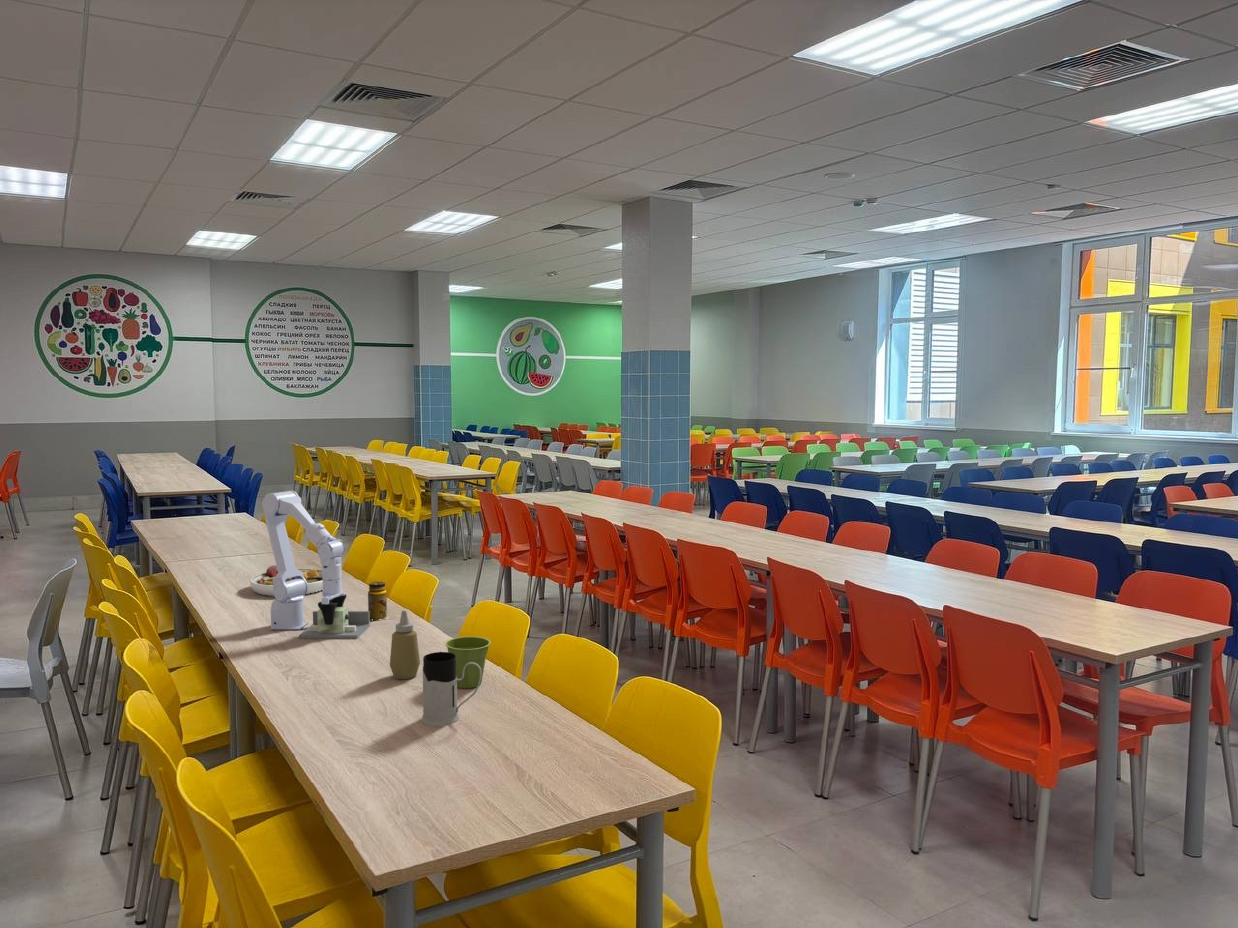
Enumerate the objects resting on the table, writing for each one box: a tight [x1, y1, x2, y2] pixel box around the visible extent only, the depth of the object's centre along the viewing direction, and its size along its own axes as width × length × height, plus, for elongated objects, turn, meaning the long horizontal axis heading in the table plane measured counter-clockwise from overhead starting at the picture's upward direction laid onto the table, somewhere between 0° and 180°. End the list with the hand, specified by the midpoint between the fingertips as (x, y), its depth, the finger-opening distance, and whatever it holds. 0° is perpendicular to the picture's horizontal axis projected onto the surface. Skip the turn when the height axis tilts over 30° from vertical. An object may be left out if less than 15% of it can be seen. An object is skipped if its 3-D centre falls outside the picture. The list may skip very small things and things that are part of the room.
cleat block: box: [316, 606, 349, 633], centre depth 271 cm, size 9×5×7 cm, turn 91°
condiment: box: [367, 581, 391, 622], centre depth 290 cm, size 7×8×12 cm
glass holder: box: [420, 651, 482, 727], centre depth 202 cm, size 9×14×15 cm, turn 88°
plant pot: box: [444, 635, 492, 689], centre depth 226 cm, size 12×12×11 cm
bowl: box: [249, 564, 323, 597], centre depth 332 cm, size 30×30×8 cm
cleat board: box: [298, 610, 371, 640], centre depth 274 cm, size 18×14×5 cm
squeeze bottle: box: [389, 610, 421, 680], centre depth 232 cm, size 8×8×18 cm
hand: (332, 621), depth 271 cm, fingers open, 7 cm apart
